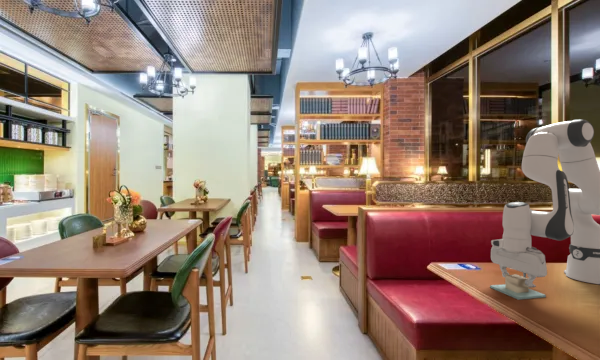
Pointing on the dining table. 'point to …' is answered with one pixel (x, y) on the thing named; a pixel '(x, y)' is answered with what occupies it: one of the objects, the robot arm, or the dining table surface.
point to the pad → (518, 295)
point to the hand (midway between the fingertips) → (516, 281)
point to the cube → (516, 283)
